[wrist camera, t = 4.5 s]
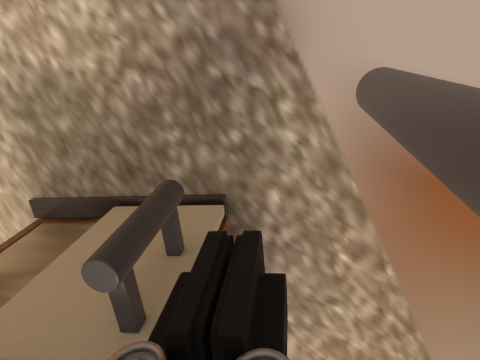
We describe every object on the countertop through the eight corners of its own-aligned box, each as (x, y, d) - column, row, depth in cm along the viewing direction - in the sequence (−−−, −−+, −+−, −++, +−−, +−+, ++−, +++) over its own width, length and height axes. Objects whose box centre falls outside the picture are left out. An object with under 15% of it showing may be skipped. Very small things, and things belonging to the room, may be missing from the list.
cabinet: (225, 194, 23) (134, 391, 10) (240, 319, 27) (192, 570, 14) (32, 198, 26) (-238, 354, 13) (74, 311, 30) (-94, 513, 17)
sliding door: (217, 151, 21) (122, 279, 9) (225, 214, 23) (153, 388, 11) (100, 156, 22) (-105, 272, 11) (116, 215, 24) (-46, 370, 13)
